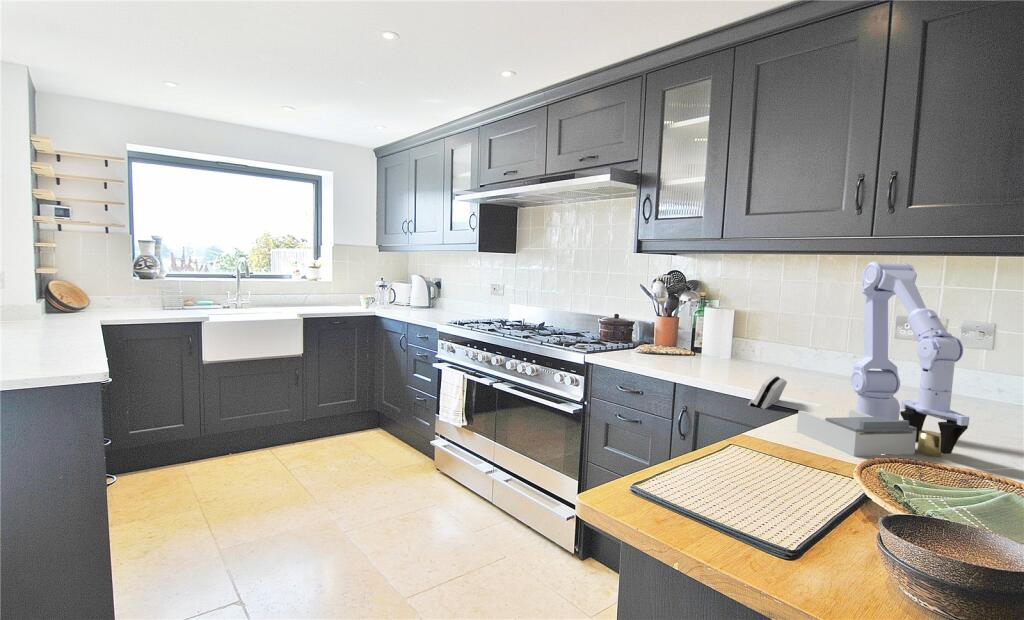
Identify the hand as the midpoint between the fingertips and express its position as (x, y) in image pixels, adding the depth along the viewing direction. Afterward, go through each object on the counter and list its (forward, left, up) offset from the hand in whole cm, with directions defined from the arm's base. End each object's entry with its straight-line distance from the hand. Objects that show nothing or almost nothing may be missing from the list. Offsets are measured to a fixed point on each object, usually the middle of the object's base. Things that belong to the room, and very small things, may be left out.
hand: (929, 447), depth 123 cm
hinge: (+8, -46, -2) cm, 47 cm away
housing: (+12, -9, -2) cm, 15 cm away
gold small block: (0, 0, -2) cm, 2 cm away
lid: (+12, -4, +4) cm, 13 cm away
